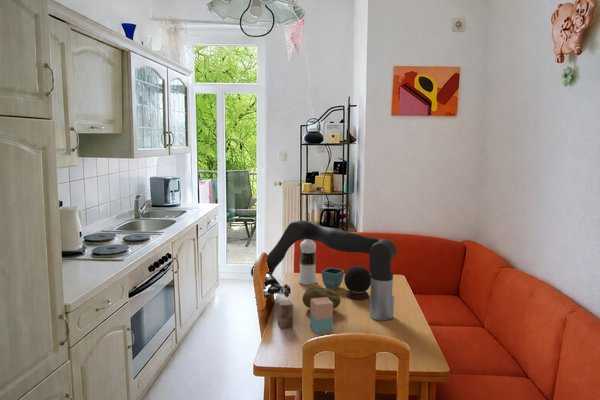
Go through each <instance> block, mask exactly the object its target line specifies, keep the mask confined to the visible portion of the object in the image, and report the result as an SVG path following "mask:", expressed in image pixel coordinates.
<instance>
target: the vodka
mask: <svg viewBox="0 0 600 400" xmlns="http://www.w3.org/2000/svg"><path fill="white" fill-rule="evenodd" d="M299 244H300V245H299V248H300V250H299V255H300V256H299V276H298V282H299V283H300V284H301V285H303V286H313V285H314V284H316V283H317V277H316V276H317V275H316V267H317V266H316V251H317V249H316V248H317V244H316V242H315V241H314V240H310V239H303V240H302V241H301V242H300V243H299Z"/></svg>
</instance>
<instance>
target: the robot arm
mask: <svg viewBox="0 0 600 400" xmlns="http://www.w3.org/2000/svg"><path fill="white" fill-rule="evenodd" d="M305 239H310V240H312V241H314V242H315V241H316V242H319V243H321V244H323V245H324V246H326V247H327V248H330V249H331V250H335V251H340V252H344V253H362V254H368V255H369V258H368V259H369V265H368V267H369V273H370V274H371V285H370V294H369V298H370V299H369V317H370V318H371V319H373V320H376V321H389V320H391V319H393V318H394V315H395V314H394V307H395V296H394V295H393V287H394V286H393V283H394V281H393V280H394V272H393V271H392V270H391V260H393V259H394V258H395V257H396V255H397V251H398V250H397V246H396V245H395V244H394V242H393V241H391V240H389V239H385V238H376V237H370V236H365V235H362V234H357V233H355V232H350V231H347V230H343V229H340V228H339V229H338V228H334V227H328V226H322V225H318V224H316V223H313V222H310V221H308V220H303V219H301V220H294V221H292V222H290V223H289V224H288V225H287V227H286V229H285V231H284V232H283V234H282V236H281V237H280V238H279V240H278V242H277V243H276V245H274V247H273V248H272V249H271V251H270V252H269V253H268V254H267V255H266V257H268V258H267V265H268V268H269V272H267V274H266V276H265V282H264V284H265V286H264V290H263V293H264V296H263V297H264V298H265V299H267V300H269V299H270V295H274V294H275V295H276V294H277V295H278V294H279V295H284V296H285V297H286V298H288V297H289V296H290V295H291V290H292V289H291V287H290V285H288V284H286V283H284V285H283V286H282V285H280V283H279V281H278V280H277V279H276V278H275V276H274V275H273V274H274V272H275V270H276V268H277V267H278V266H279V265H280V264H281V262H282V261H283V260H284V259H285V257H286V255H287V252H288V250H289V249H290V248H291V246H293V245H294V244H296V243H297V242H299V241H304V240H305ZM253 268H254V265H253V266H252V267H251V269H250V275H251V277H252V278H253ZM270 272H271V273H270Z"/></svg>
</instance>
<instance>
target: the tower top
mask: <svg viewBox="0 0 600 400" xmlns="http://www.w3.org/2000/svg"><path fill="white" fill-rule="evenodd" d="M309 309H310V312H309V313H311V314H312V315H313V317H314V318H315V319H316V320H317V319H326V318H333V319H334V309H333V302H332V301H331V300H329V299H328V298H327V297H322V298H312V299H311V304H310V308H309Z"/></svg>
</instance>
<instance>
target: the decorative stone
mask: <svg viewBox="0 0 600 400" xmlns="http://www.w3.org/2000/svg"><path fill="white" fill-rule="evenodd" d="M322 297H327V298H328V299H329V300H331V301H332V302H333V310H335V309H336V308H338V307H339V305H340V304H341V297H340V296H339V294H338V293H336V292H335V291H333V290H332V289H329V288H323V287H320V286H316V285H311V286H309V287H308V288H307V289H306V290H305V292H304V293H303V295H302V303H303V304H304V306H305V307H307V308H308V309H310V304H311V299H312V298H322Z"/></svg>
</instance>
